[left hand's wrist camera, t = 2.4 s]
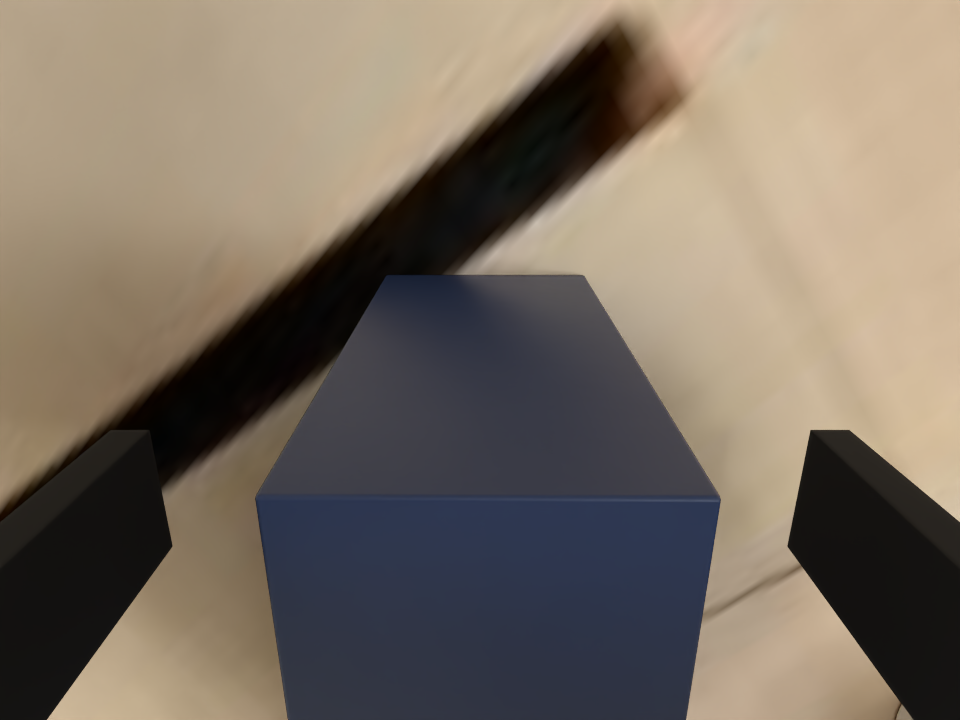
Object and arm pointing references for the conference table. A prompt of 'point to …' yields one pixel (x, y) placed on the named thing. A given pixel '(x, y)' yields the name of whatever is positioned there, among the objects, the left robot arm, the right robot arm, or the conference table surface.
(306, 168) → the conference table surface
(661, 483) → the blue block
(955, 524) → the left robot arm
